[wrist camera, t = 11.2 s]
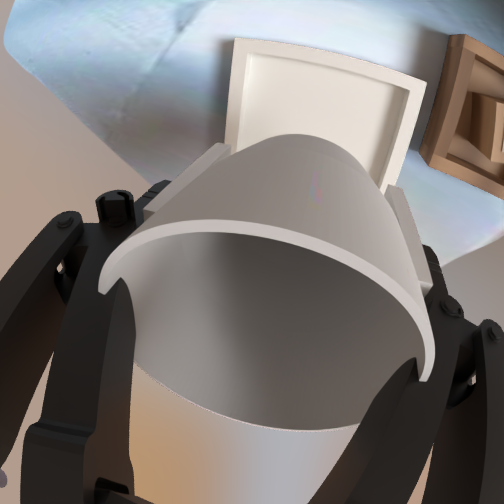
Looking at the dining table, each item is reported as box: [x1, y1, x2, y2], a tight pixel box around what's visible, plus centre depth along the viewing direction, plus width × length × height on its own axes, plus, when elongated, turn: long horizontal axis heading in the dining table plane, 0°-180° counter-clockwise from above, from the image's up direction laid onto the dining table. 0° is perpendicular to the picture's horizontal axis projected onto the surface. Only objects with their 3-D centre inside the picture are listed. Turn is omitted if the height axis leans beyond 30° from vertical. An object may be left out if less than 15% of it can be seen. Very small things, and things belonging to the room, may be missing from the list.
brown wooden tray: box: [419, 34, 504, 200], centre depth 14 cm, size 10×10×3 cm
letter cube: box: [469, 92, 504, 163], centre depth 13 cm, size 4×4×4 cm
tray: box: [224, 38, 427, 196], centre depth 20 cm, size 13×13×2 cm
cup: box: [98, 134, 435, 432], centre depth 10 cm, size 8×8×10 cm
